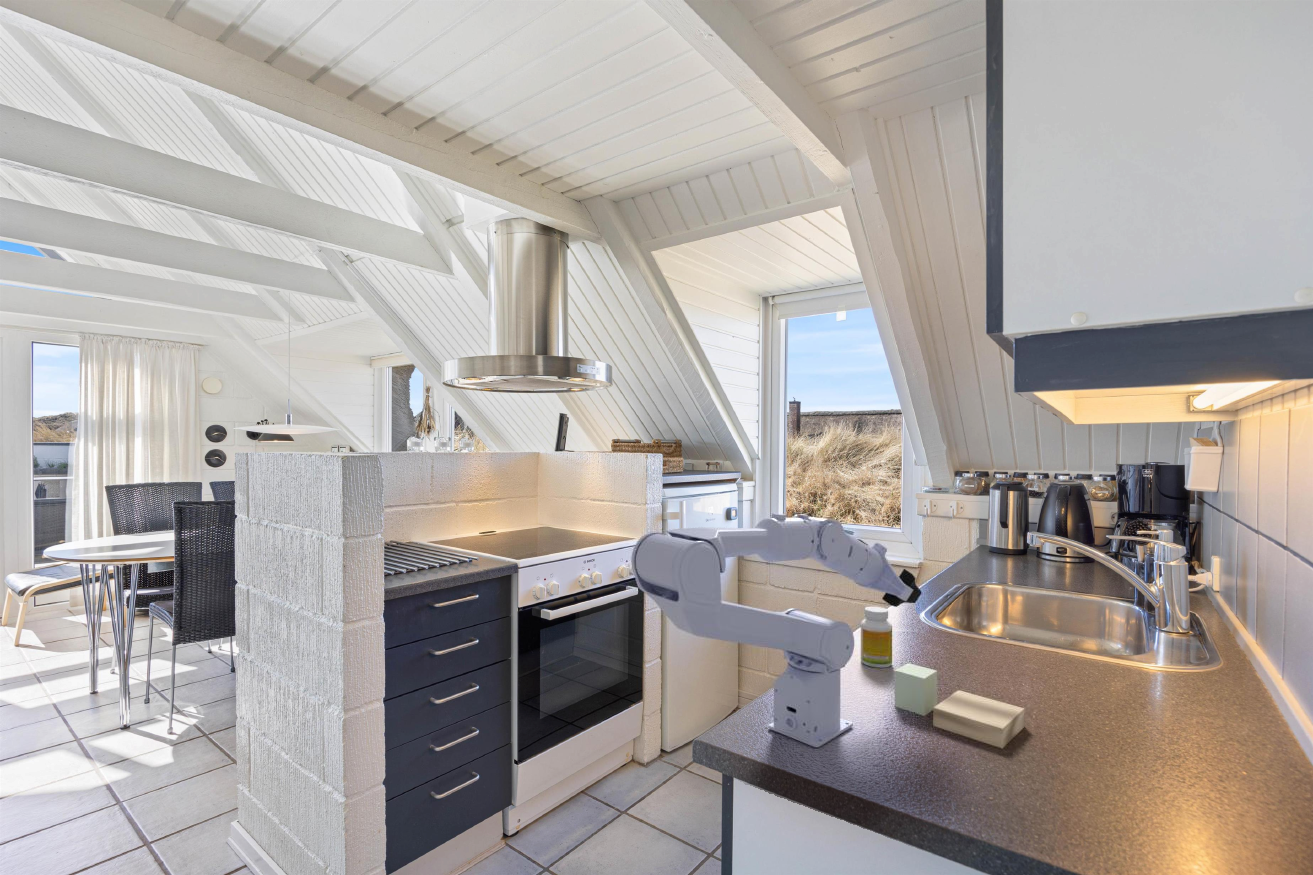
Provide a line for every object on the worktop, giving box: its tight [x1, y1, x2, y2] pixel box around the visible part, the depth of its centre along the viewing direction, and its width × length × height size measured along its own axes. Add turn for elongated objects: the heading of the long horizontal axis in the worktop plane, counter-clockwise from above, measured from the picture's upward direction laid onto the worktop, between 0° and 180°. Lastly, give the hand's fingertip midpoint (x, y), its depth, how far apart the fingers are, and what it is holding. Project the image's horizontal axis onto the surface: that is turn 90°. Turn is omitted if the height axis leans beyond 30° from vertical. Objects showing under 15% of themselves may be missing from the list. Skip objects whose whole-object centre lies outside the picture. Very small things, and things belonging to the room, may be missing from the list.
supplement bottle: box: [860, 606, 893, 669], centre depth 115 cm, size 5×5×10 cm
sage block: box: [894, 662, 938, 717], centre depth 96 cm, size 4×4×6 cm
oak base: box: [932, 689, 1026, 749], centre depth 90 cm, size 9×9×3 cm
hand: (898, 583), depth 102 cm, fingers open, 7 cm apart
